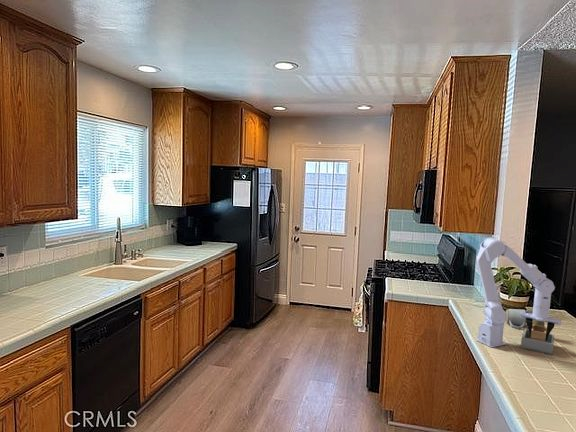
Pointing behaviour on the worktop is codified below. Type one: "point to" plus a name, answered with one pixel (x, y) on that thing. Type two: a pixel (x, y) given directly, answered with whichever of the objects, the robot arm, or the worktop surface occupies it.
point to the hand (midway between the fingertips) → (538, 338)
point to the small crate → (538, 333)
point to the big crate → (537, 343)
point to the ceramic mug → (515, 318)
